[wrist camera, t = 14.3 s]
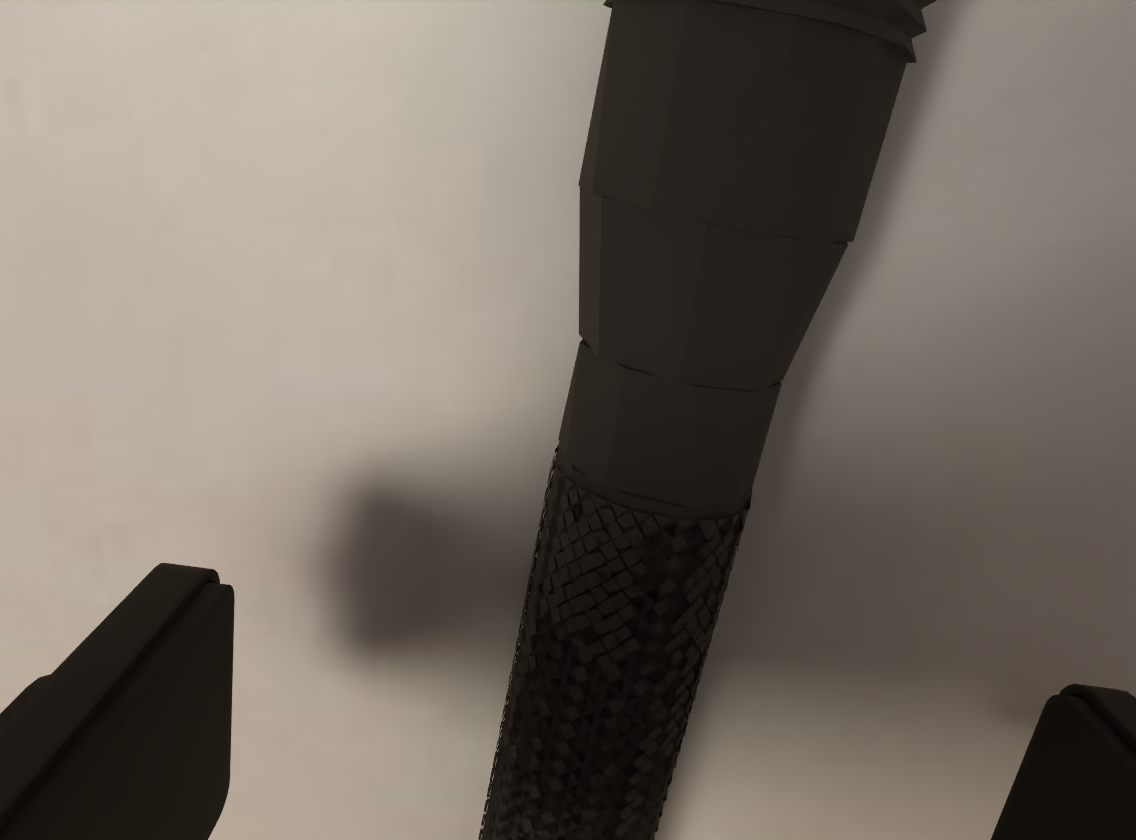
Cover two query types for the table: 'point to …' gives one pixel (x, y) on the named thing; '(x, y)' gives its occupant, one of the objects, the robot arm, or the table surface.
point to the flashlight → (679, 373)
